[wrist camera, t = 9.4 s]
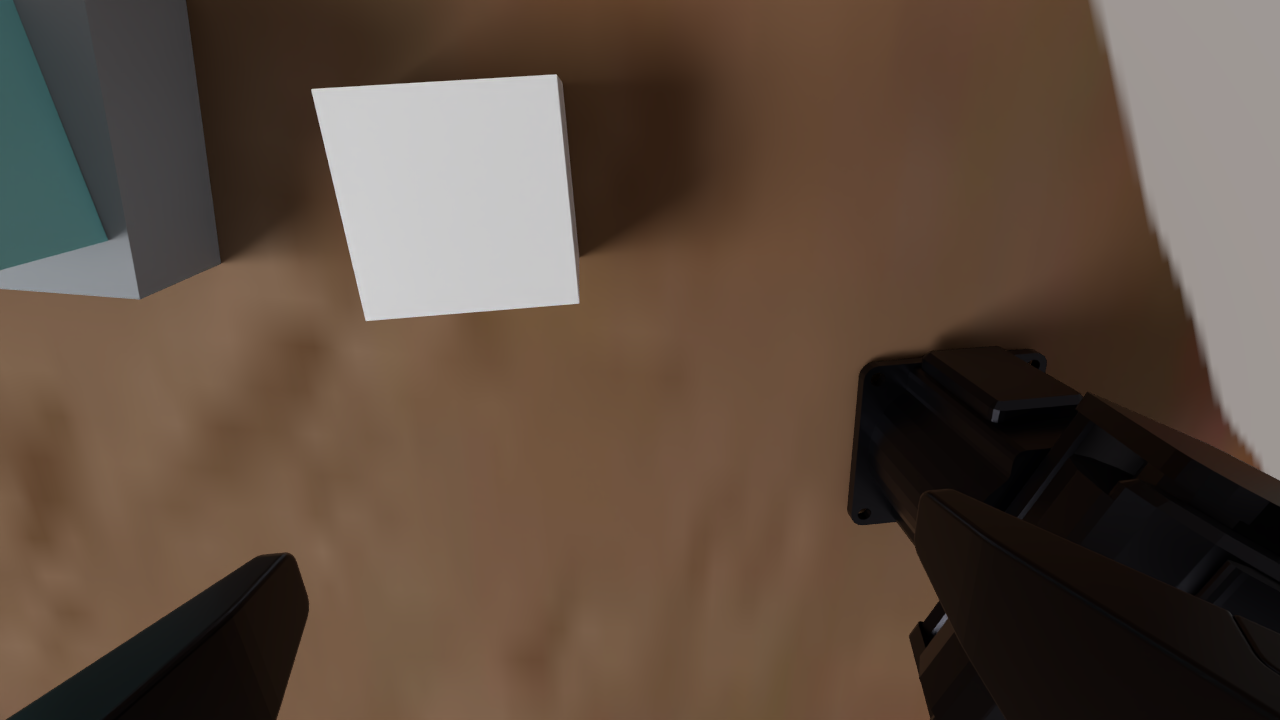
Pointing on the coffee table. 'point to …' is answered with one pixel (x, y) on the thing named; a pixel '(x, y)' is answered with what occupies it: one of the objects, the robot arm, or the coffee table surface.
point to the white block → (454, 194)
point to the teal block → (36, 161)
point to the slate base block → (125, 144)
